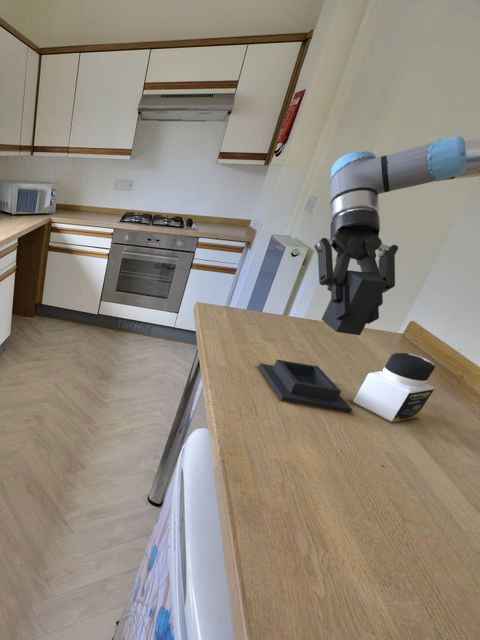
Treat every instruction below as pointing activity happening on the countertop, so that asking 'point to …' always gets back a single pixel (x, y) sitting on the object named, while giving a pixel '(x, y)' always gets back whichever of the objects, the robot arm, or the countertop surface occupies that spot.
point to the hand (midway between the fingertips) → (356, 318)
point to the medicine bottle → (397, 387)
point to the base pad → (304, 385)
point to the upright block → (356, 302)
